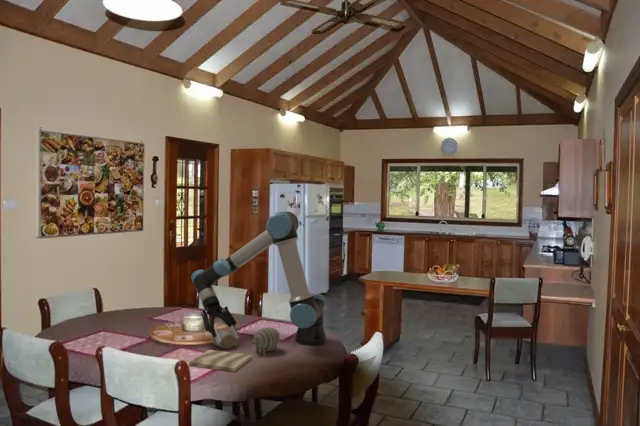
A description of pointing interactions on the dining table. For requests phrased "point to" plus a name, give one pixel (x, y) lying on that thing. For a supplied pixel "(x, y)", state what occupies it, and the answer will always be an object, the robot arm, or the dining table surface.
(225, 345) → the ceramic mug
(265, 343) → the toy sheep
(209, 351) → the birch board
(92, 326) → the dining table surface
